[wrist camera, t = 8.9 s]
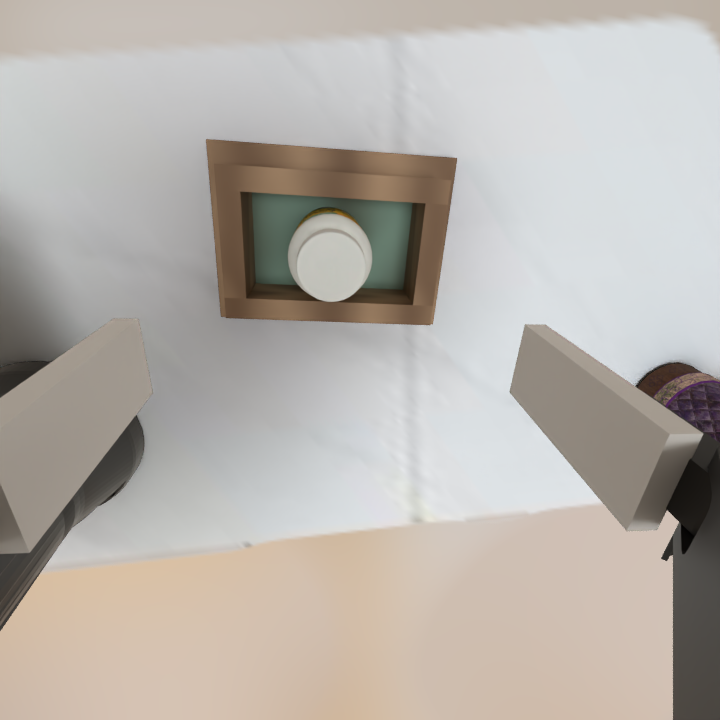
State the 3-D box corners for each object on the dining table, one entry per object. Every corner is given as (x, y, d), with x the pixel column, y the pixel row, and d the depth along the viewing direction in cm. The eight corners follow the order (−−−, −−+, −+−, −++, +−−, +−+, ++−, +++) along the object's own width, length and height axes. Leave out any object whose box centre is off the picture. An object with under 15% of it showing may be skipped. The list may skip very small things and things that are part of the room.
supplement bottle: (323, 289, 33) (322, 331, 24) (280, 235, 31) (262, 260, 22) (377, 249, 32) (395, 277, 23) (335, 190, 30) (339, 197, 21)
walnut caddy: (223, 312, 34) (206, 336, 29) (209, 140, 29) (185, 133, 24) (430, 320, 36) (446, 344, 31) (453, 158, 31) (477, 156, 26)
